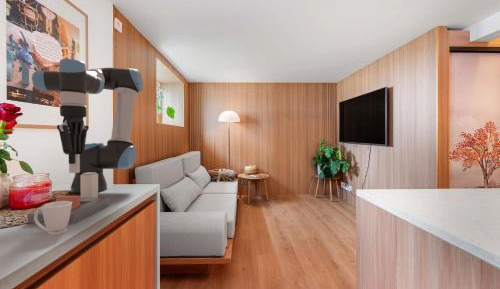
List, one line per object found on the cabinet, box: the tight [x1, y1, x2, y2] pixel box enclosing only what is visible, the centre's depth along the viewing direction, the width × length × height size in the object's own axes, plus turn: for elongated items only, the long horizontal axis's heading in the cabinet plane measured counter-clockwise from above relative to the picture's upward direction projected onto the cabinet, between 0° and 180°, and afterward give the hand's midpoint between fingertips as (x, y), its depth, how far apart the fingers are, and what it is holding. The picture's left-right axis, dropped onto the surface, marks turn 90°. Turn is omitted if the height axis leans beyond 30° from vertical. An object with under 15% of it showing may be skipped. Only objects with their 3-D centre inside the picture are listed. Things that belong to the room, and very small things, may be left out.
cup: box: [34, 200, 72, 236], centre depth 70 cm, size 7×10×8 cm
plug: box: [80, 172, 99, 198], centre depth 103 cm, size 4×4×12 cm
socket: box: [26, 197, 109, 225], centre depth 86 cm, size 20×14×3 cm
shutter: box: [55, 195, 81, 210], centre depth 81 cm, size 7×7×4 cm
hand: (74, 172), depth 87 cm, fingers closed
